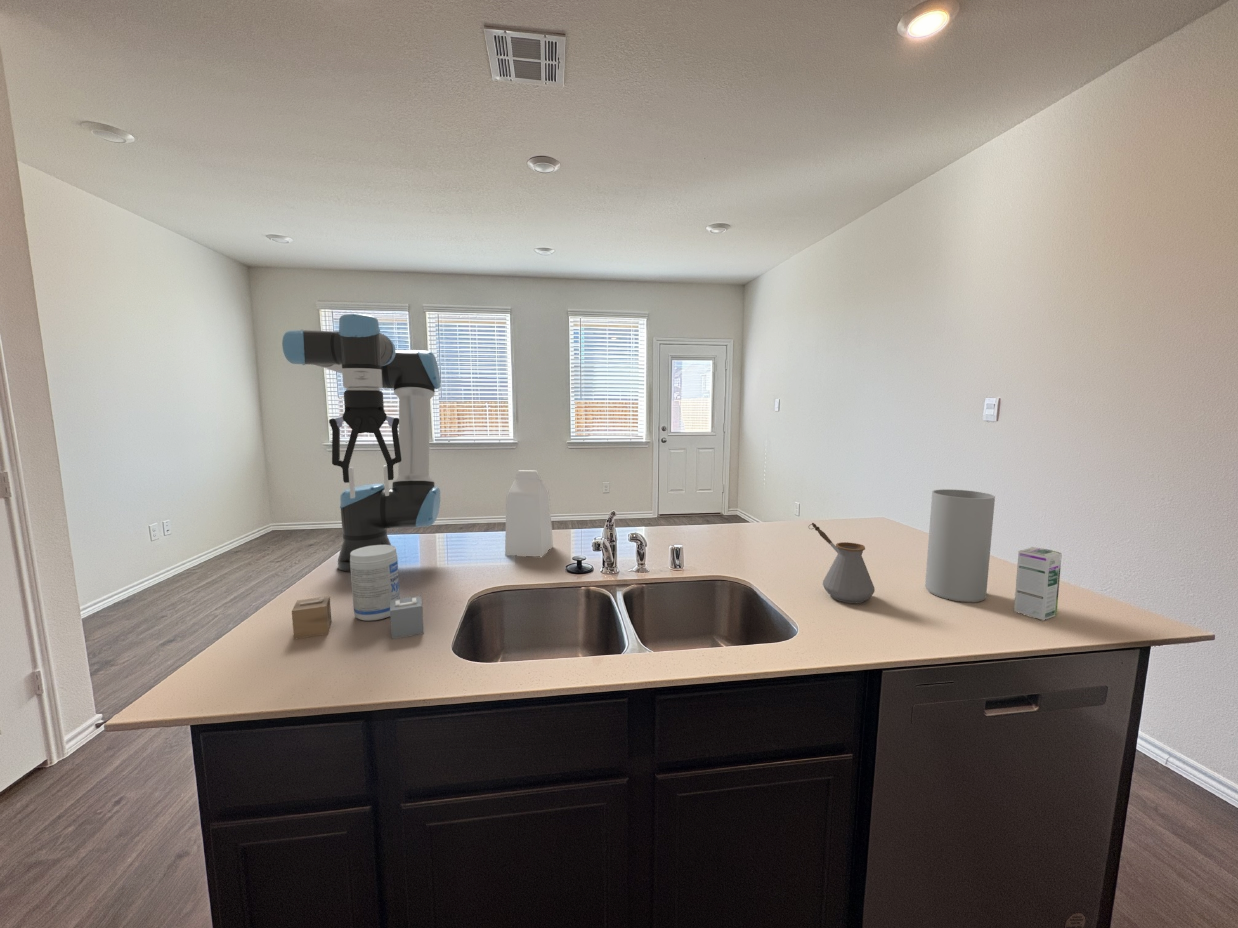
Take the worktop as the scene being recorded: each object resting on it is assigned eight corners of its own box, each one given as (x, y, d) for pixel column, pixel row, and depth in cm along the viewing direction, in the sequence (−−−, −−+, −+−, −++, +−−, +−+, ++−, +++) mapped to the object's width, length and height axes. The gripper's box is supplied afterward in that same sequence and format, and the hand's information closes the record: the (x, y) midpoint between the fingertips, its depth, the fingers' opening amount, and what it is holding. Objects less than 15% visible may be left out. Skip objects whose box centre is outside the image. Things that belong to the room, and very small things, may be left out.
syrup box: (1044, 621, 107) (1050, 556, 106) (1012, 611, 113) (1018, 549, 111) (1056, 616, 110) (1063, 552, 108) (1025, 606, 115) (1031, 545, 114)
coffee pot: (885, 604, 117) (889, 541, 115) (842, 608, 114) (846, 545, 113) (827, 574, 138) (830, 520, 136) (790, 577, 135) (792, 523, 133)
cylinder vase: (995, 596, 121) (1005, 495, 118) (970, 607, 115) (979, 500, 112) (941, 581, 132) (948, 487, 129) (914, 590, 126) (921, 492, 122)
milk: (505, 555, 156) (502, 472, 152) (518, 545, 167) (516, 467, 164) (542, 557, 154) (540, 473, 150) (553, 546, 165) (551, 468, 162)
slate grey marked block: (392, 627, 106) (390, 598, 105) (422, 622, 108) (420, 594, 108) (391, 639, 101) (390, 609, 100) (423, 633, 103) (422, 604, 102)
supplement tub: (404, 615, 112) (400, 551, 110) (356, 626, 106) (351, 559, 105) (396, 601, 120) (392, 541, 118) (351, 610, 114) (347, 548, 113)
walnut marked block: (299, 627, 106) (297, 598, 105) (331, 622, 108) (329, 594, 108) (294, 639, 101) (291, 609, 100) (328, 633, 103) (326, 604, 102)
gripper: (308, 388, 100) (317, 502, 102) (411, 389, 107) (417, 495, 110) (314, 389, 106) (322, 496, 109) (411, 390, 114) (416, 490, 117)
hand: (370, 495), depth 110 cm, fingers open, 6 cm apart
